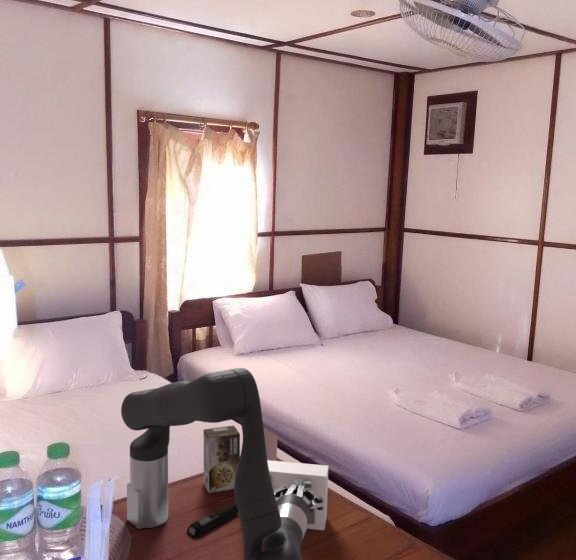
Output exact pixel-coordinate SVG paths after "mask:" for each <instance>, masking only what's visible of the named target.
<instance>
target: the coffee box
mask: <svg viewBox="0 0 576 560" xmlns="http://www.w3.org/2000/svg"><path fill="white" fill-rule="evenodd" d="M240 455H241V434H240V432H239V431H238V429H237V427H235V425H228V426H220V427H212V428H205V429H203V484H204V487H205V489H206V490H207V493H208V494H212V493H217V492H222V491H228V490H229V491H230V490H234V482H235V476H236V471H237V467H238V463H239V459H240Z"/></svg>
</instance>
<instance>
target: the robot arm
mask: <svg viewBox="0 0 576 560" xmlns="http://www.w3.org/2000/svg"><path fill="white" fill-rule="evenodd" d="M260 398H261V397H260V394H259V388H258V385H257V381H256V379H255V377H254V375H253V374H252V373H251V371H249V370H248V369H247V368H245V367H244V368H243V367H236V368H231V369H226V370H225V369H224V370H220V371H213V372H208V373H205V374H203V375H201V376H198V377H197V378H195V379H194V380H191V381H189V380H181V381H180V380H179V381H174V382H171V383H168V384H165V385H162V386H159V387H157V388H156V387H155V388H149V389H145V390H139V391H133V392H131V393H128V394H127V395H126V396H125V397H124V399H123V400H122V404H121V408H120V409H121V410H120V414H121V419H122V421H123V422H124V424H125V426H126V427H127V428H128V429H129V430H132V431H144V430H145V431H144V432H143V433H142V434H141V435H139V436H137V437H136V438H135V439H133V440H132V441H131V442H130V444H129V482H127V483H126V515H127V516H126V519H127V521H129V522H130V523H131V524H132V525H133V526H134V527H135V528H136V529H138V530H141V529H147V528H148V529H149V528H155V527H158V526H161V525H163V524H165V523H166V522H167V520H168V519H169V445H170V435H171V427H178V426H179V427H180V426H186V425H190V424H193V423H195V422H201V423H210V424H211V423H212V424H217V423H222V422H227V421H231V420H236V419H239V420H240V426H241V430H242V431H241V433H242V445H241V449H240V459H239V463H238V467H237V471H236V476H235V482H234V489H233V490H234V491H233V492H234V499H235V503H236V504H237V509H238V513H237V514H238V515H239V520H240V525H241V530H242V538H243V539H242V541H243V560H303V559H302V552H301V547H302V544H303V543H302V542H303V539H304V537H305V535H306V532H307V530H308V529H307V523H308V519H309V514H310V513H312V511H313V509H315V508H316V509H318V510H323V497H321V496H320V495H319V494H317V493H316V492H315V491H314V490H312V489H311V488H306V489H305V484H306V483H305V482H304V481H303V479H296V481H293V484H292V485H291V487H290V488H288V486H282V487H280V488H277V489H275V490H273V486H272V482H271V478H270V473H269V468H268V462H267V454H266V445H265V435H264V431H265V428H264V421H263V419H264V418H263V413H262V406H261V399H260ZM281 492H282V495H281Z"/></svg>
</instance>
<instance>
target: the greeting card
mask: <svg viewBox="0 0 576 560" xmlns="http://www.w3.org/2000/svg"><path fill="white" fill-rule="evenodd" d="M264 435H265V445H266V454H267V460H271V461H278V435H276V434H274V433H271V432H268V431H265V430H264Z"/></svg>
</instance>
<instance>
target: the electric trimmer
mask: <svg viewBox="0 0 576 560" xmlns="http://www.w3.org/2000/svg"><path fill="white" fill-rule="evenodd" d="M238 514H239V513H238V509H237V504H236V502H235V503H233V504H230V505H229V506H226V507H224V508H222V509H220V510H218V511H215V512H213V513H211V514H209V515H206V516H204V517H203V518H202V517H201V519H198V520H195V521H193V522H192V523H191V524H190V525H189V526H188V528H187V530H186V535H188V536H190V537H192V538H193V539H196V538H199V537H200V535H201V534H202V533H204V532H206V531H207V530H209V529H211V528H213V527H215V526H216V525H223V524H225V523H226V522H227V521H229V520H230V519H231V518H233V517H234V516H235V515H238Z"/></svg>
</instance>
